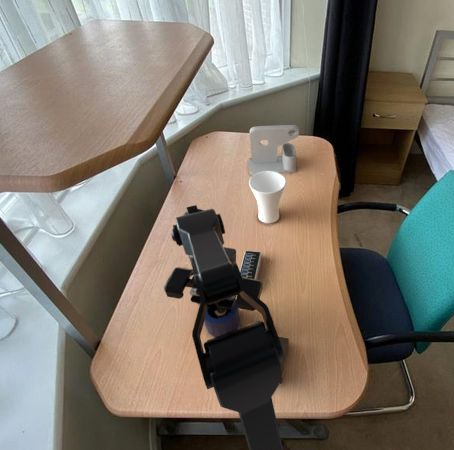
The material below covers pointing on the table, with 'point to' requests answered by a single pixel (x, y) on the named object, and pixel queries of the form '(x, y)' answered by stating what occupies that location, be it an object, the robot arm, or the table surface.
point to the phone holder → (272, 149)
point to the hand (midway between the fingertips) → (220, 309)
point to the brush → (220, 312)
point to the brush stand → (285, 346)
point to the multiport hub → (250, 264)
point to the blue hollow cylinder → (222, 321)
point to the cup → (268, 194)
